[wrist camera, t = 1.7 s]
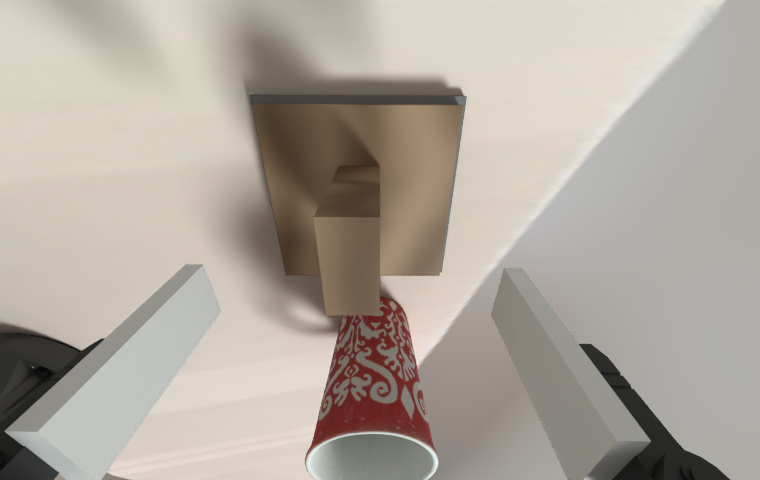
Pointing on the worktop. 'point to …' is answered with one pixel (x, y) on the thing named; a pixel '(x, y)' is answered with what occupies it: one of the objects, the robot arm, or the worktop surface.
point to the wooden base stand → (359, 192)
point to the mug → (373, 405)
